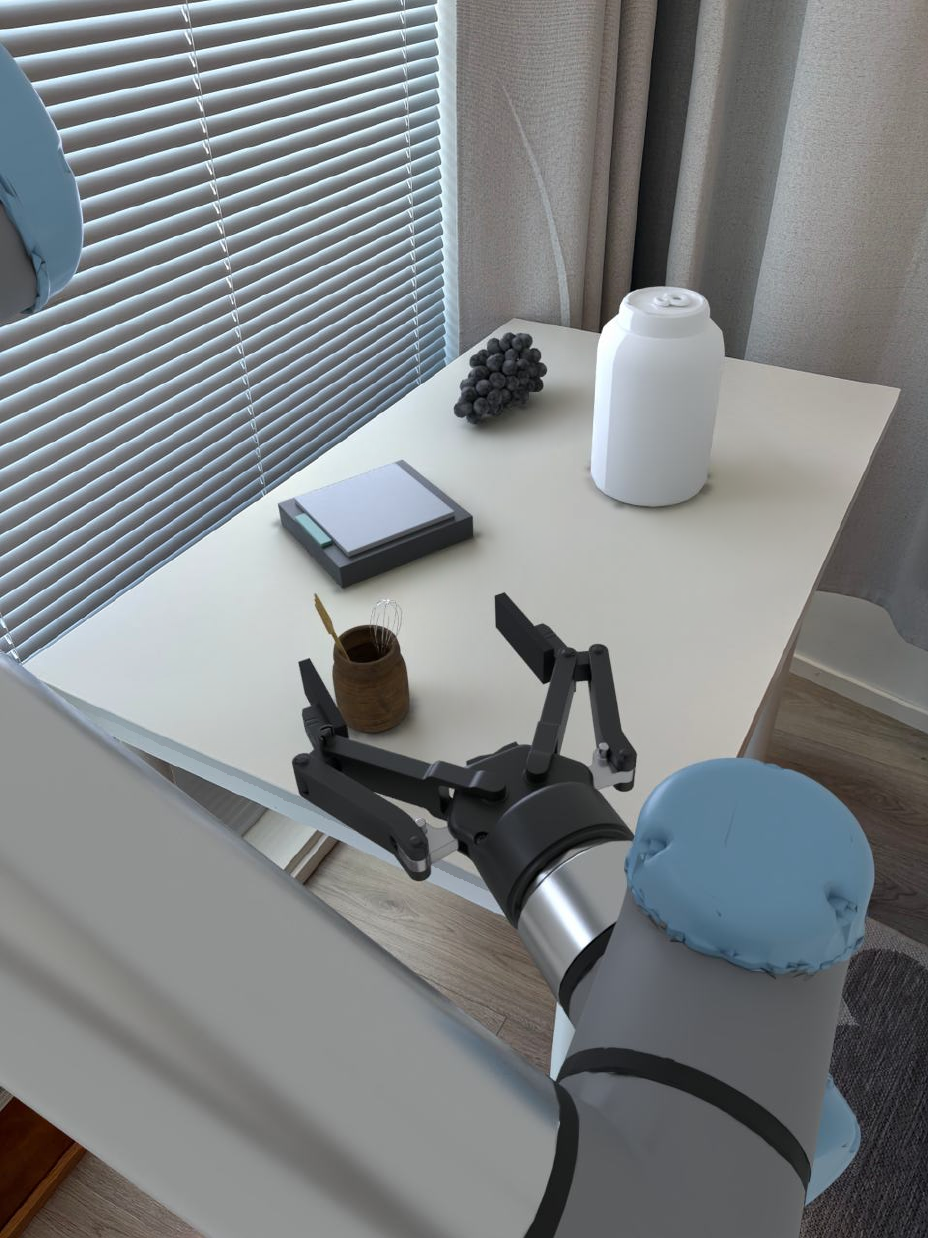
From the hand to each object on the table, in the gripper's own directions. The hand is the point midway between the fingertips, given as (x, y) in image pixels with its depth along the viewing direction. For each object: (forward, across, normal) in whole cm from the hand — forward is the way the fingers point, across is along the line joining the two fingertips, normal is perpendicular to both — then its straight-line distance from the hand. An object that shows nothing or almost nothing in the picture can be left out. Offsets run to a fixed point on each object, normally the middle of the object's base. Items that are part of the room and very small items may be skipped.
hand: (406, 641), depth 61 cm
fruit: (+52, +33, -15) cm, 64 cm away
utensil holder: (+10, 0, -15) cm, 18 cm away
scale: (+34, +10, -14) cm, 38 cm away
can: (+29, +40, -15) cm, 51 cm away
